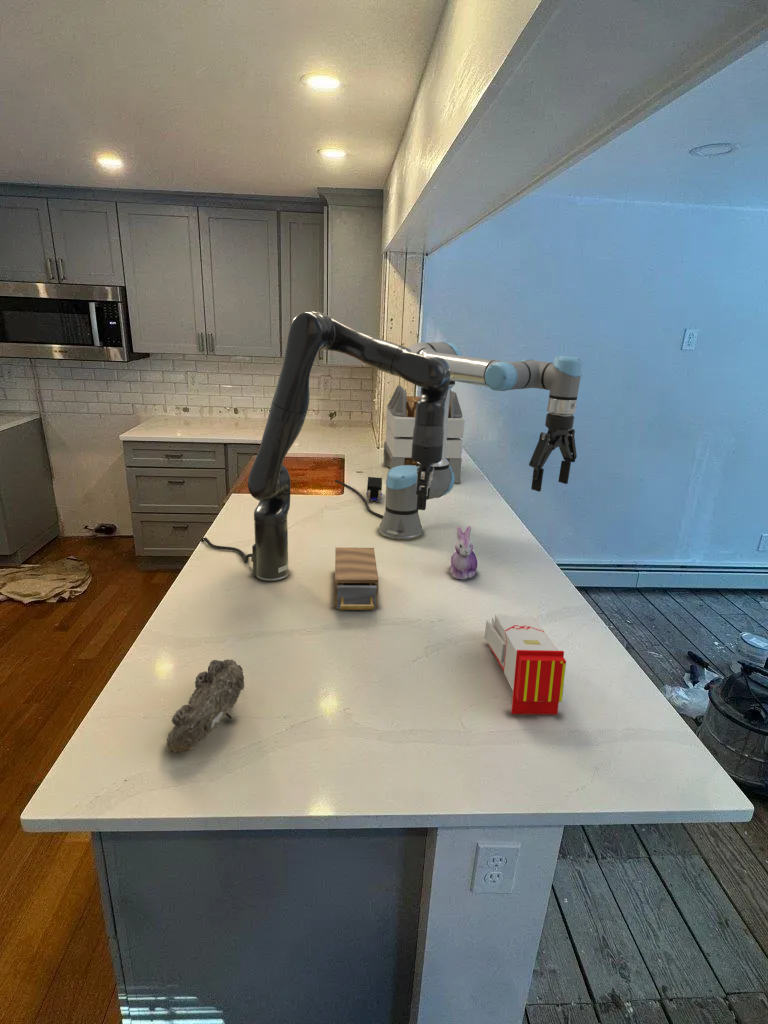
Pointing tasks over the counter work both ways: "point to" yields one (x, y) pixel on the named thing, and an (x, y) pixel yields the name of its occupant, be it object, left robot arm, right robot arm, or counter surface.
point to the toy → (527, 663)
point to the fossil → (206, 705)
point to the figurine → (463, 556)
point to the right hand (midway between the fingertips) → (549, 486)
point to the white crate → (402, 427)
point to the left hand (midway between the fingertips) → (422, 504)
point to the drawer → (356, 596)
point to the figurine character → (374, 488)
